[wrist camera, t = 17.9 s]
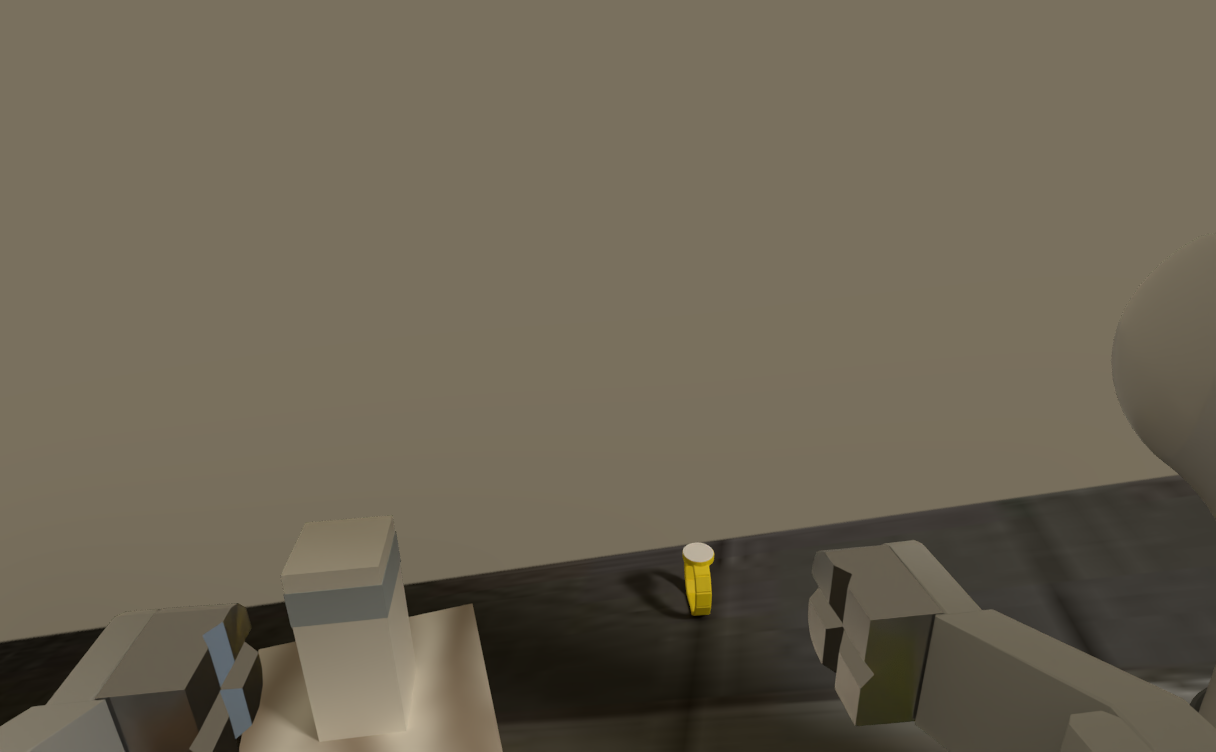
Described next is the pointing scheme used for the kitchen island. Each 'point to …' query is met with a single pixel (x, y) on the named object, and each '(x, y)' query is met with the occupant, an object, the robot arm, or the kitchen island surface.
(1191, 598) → the kitchen island surface
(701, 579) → the watch
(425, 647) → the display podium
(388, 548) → the carton
